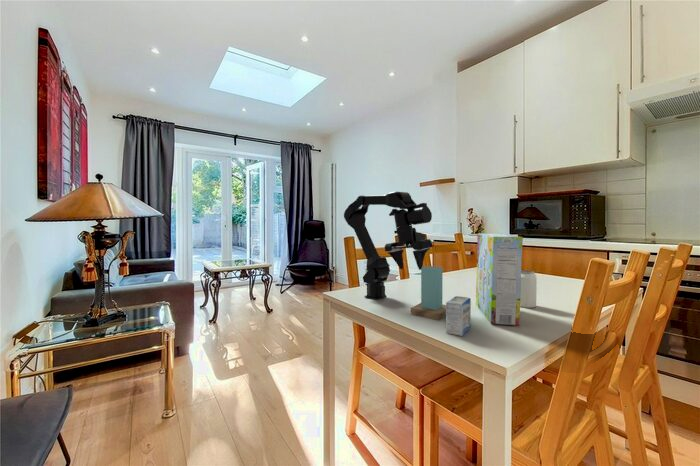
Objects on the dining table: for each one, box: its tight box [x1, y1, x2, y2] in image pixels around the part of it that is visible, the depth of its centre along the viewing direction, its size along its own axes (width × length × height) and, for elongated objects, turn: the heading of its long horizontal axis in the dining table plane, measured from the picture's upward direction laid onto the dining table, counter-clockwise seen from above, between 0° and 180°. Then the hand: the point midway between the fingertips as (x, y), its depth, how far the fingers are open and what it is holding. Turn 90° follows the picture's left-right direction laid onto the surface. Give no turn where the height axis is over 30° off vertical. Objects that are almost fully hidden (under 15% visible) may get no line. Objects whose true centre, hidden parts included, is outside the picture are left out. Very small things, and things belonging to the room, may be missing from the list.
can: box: [520, 269, 538, 309], centre depth 104 cm, size 6×6×12 cm
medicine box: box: [445, 295, 472, 337], centre depth 82 cm, size 8×4×9 cm, turn 143°
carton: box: [420, 265, 443, 310], centre depth 97 cm, size 5×5×13 cm
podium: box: [410, 302, 446, 321], centre depth 98 cm, size 10×10×2 cm
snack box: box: [475, 233, 524, 327], centre depth 95 cm, size 22×9×26 cm, turn 168°
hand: (410, 269), depth 107 cm, fingers open, 9 cm apart
